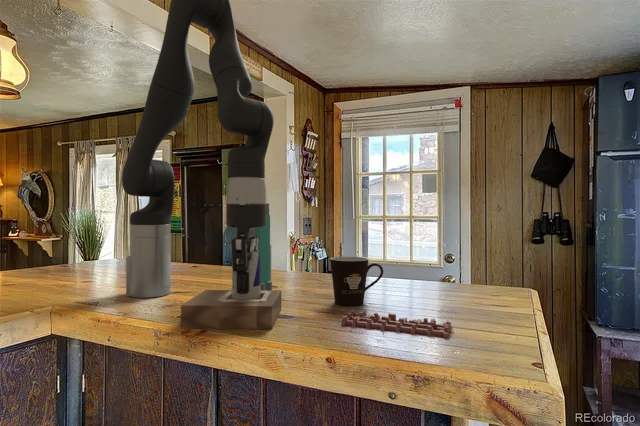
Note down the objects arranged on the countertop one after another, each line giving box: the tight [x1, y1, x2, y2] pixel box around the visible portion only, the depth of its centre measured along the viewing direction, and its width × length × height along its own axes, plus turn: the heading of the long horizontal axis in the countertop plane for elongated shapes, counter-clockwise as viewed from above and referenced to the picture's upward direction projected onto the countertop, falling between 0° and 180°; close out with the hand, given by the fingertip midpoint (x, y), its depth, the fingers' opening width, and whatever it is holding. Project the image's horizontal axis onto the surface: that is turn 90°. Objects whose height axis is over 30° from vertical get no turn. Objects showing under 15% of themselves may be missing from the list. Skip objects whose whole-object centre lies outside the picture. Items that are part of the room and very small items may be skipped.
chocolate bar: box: [340, 310, 454, 339], centre depth 72 cm, size 7×19×2 cm, turn 67°
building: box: [255, 202, 273, 290], centre depth 98 cm, size 6×6×30 cm
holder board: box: [180, 289, 282, 330], centre depth 77 cm, size 16×14×4 cm
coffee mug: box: [329, 256, 384, 308], centre depth 89 cm, size 12×9×10 cm
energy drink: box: [231, 250, 261, 300], centre depth 77 cm, size 5×5×12 cm
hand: (246, 289), depth 77 cm, fingers closed on energy drink, 5 cm apart
